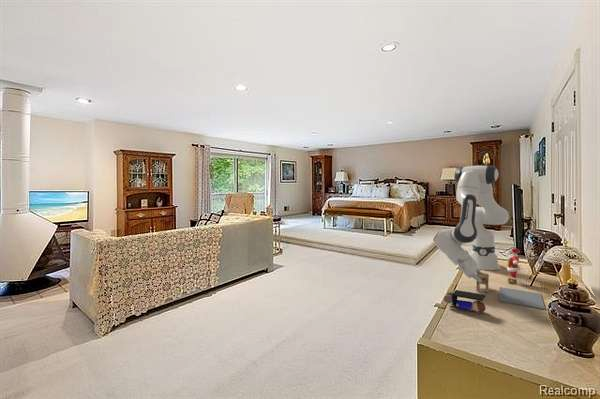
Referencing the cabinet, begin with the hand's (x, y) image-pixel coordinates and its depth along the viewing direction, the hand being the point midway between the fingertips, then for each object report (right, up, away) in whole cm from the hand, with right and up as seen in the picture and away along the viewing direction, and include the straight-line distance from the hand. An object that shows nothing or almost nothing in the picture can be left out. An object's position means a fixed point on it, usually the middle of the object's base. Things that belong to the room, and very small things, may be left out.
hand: (481, 279), depth 143 cm
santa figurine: (+24, -5, +10) cm, 26 cm away
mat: (+11, -6, -10) cm, 16 cm away
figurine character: (-21, -8, -20) cm, 30 cm away
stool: (0, -6, 0) cm, 6 cm away
